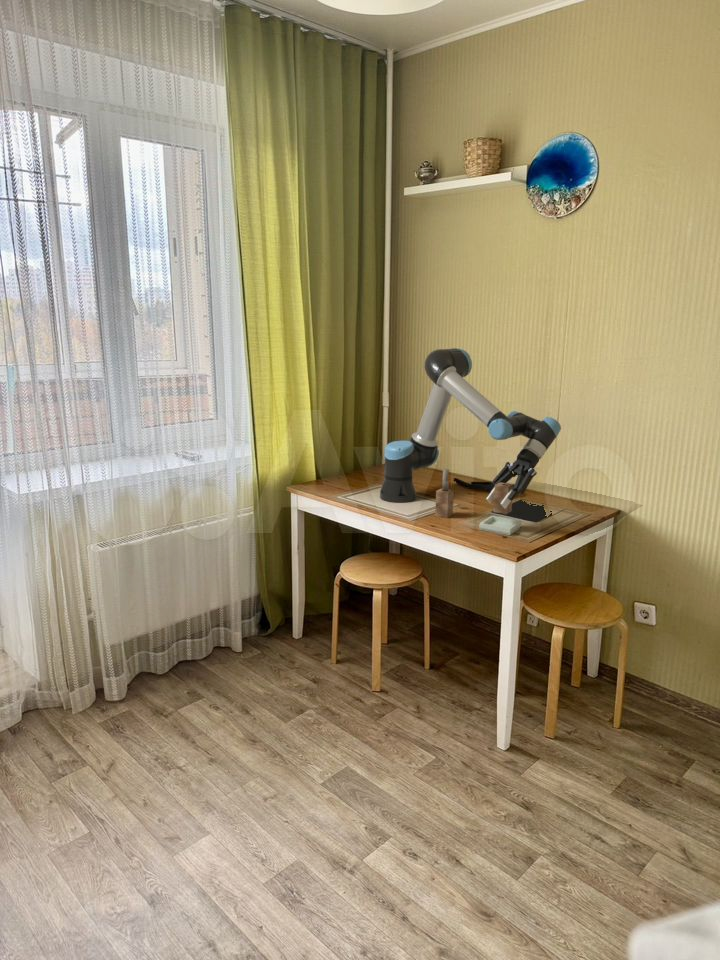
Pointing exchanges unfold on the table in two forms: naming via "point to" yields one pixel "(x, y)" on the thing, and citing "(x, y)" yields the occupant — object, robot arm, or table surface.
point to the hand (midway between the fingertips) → (495, 503)
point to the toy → (477, 484)
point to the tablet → (526, 512)
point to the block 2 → (502, 497)
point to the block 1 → (444, 498)
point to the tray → (500, 525)
